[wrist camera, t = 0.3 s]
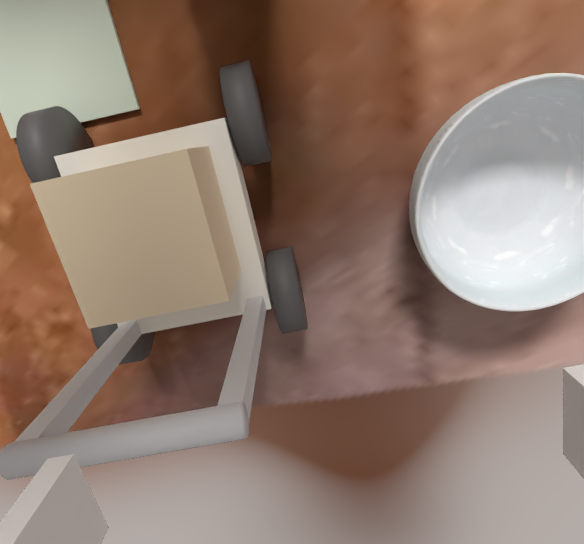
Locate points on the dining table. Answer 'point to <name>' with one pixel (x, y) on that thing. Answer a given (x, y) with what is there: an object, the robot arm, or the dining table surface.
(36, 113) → the trolley
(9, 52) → the mat
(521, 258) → the cereal bowl
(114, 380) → the dining table surface
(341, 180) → the dining table surface
